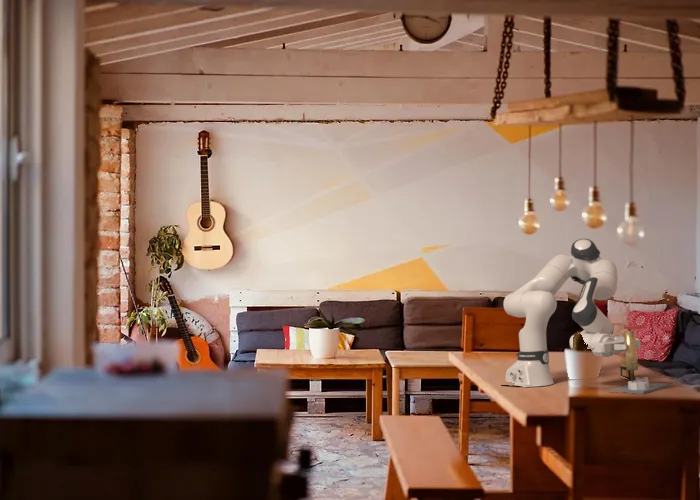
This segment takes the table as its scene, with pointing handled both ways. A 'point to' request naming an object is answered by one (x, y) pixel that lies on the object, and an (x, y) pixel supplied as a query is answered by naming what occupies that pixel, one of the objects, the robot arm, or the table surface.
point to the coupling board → (651, 388)
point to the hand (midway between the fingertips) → (632, 346)
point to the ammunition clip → (624, 372)
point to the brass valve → (631, 347)
